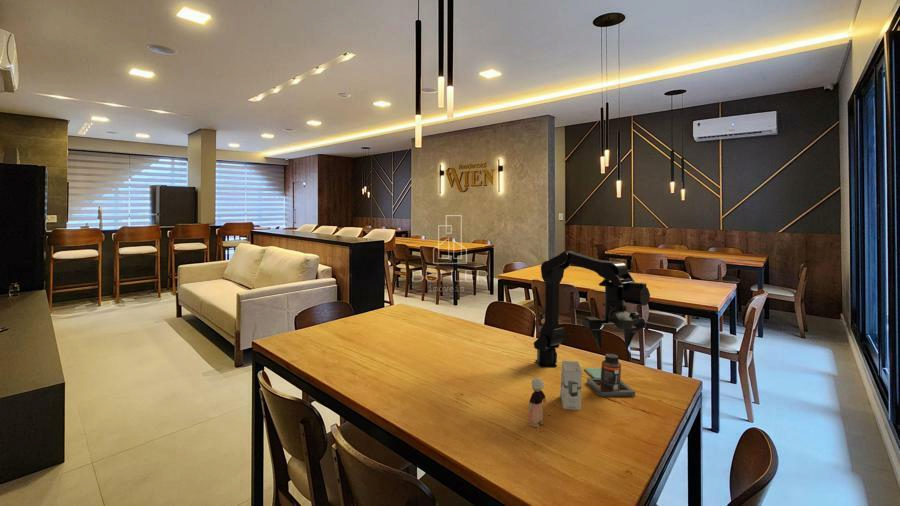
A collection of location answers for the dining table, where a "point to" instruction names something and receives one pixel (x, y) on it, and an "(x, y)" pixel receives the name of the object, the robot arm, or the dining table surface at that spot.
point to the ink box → (571, 385)
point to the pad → (594, 372)
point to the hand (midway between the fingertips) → (613, 348)
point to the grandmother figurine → (536, 403)
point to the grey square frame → (610, 393)
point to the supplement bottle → (610, 373)
